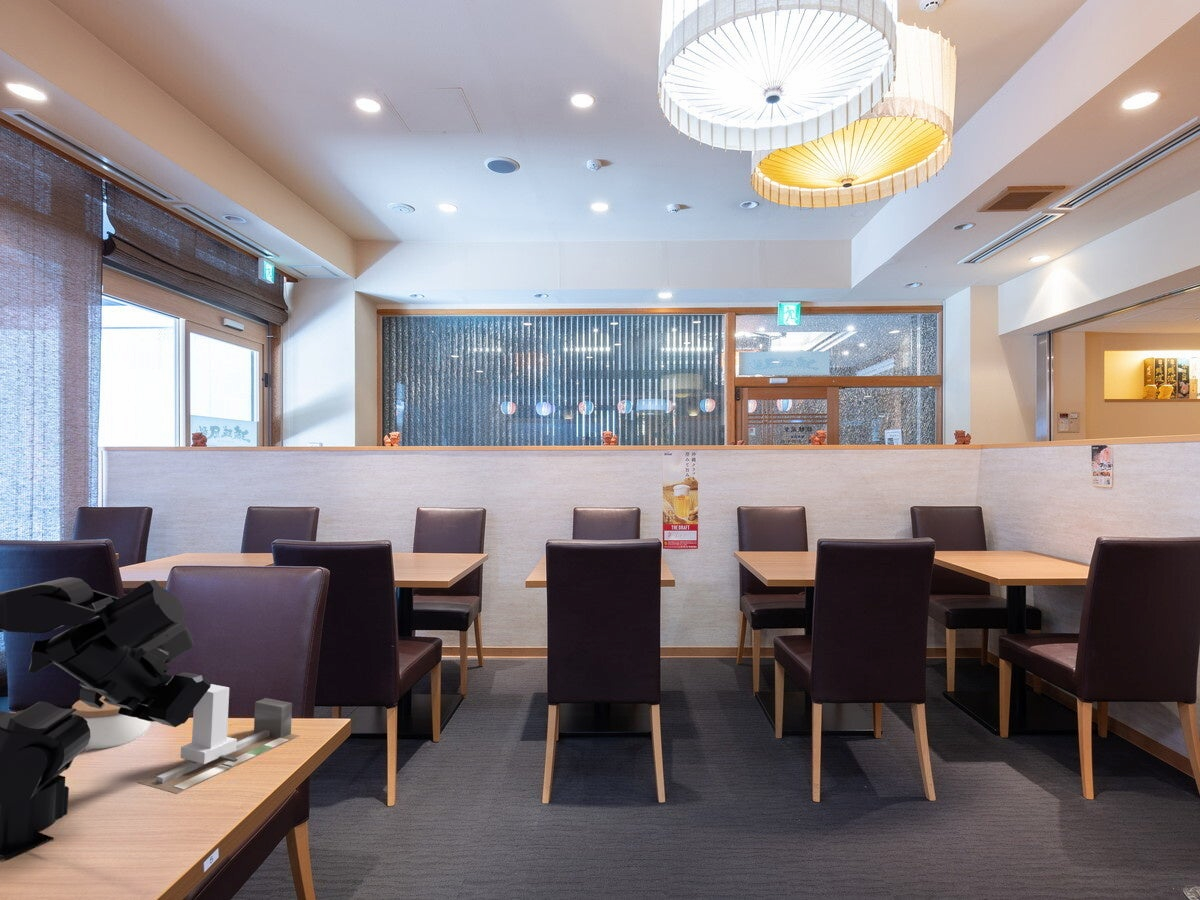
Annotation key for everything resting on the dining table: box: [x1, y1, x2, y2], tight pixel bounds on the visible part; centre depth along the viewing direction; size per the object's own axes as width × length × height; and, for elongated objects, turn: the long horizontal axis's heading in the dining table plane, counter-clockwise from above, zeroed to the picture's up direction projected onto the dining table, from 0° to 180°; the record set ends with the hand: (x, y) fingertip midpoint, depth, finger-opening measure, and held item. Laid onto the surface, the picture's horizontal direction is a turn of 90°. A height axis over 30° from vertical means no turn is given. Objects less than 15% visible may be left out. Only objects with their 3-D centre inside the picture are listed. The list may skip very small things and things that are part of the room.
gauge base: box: [137, 697, 300, 795], centre depth 91 cm, size 20×8×6 cm, turn 159°
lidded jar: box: [71, 696, 152, 752], centre depth 97 cm, size 11×11×9 cm
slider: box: [180, 683, 238, 764], centre depth 89 cm, size 5×8×10 cm, turn 69°
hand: (185, 719), depth 86 cm, fingers closed
